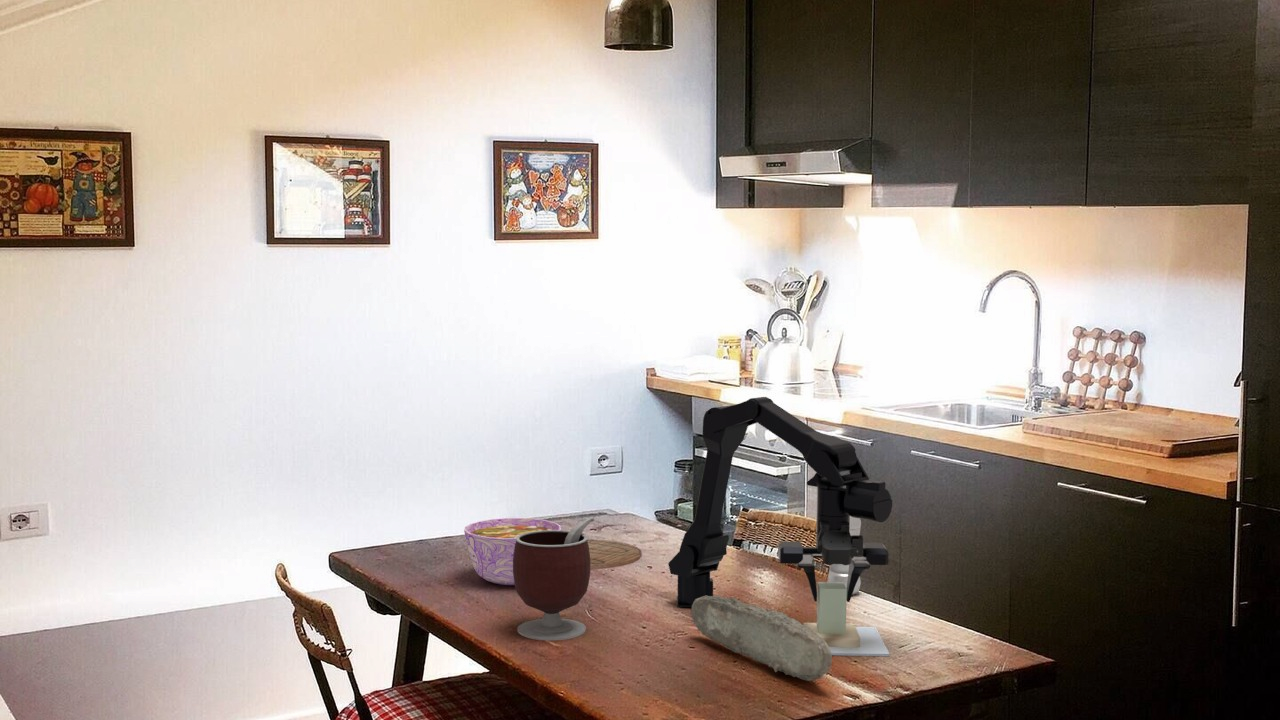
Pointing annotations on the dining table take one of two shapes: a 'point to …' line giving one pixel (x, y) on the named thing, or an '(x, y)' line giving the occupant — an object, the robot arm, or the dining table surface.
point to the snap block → (831, 607)
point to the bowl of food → (499, 545)
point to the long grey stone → (763, 636)
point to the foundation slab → (839, 636)
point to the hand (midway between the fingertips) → (831, 601)
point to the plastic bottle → (841, 571)
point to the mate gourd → (552, 579)
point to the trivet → (612, 554)
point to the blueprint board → (864, 644)
